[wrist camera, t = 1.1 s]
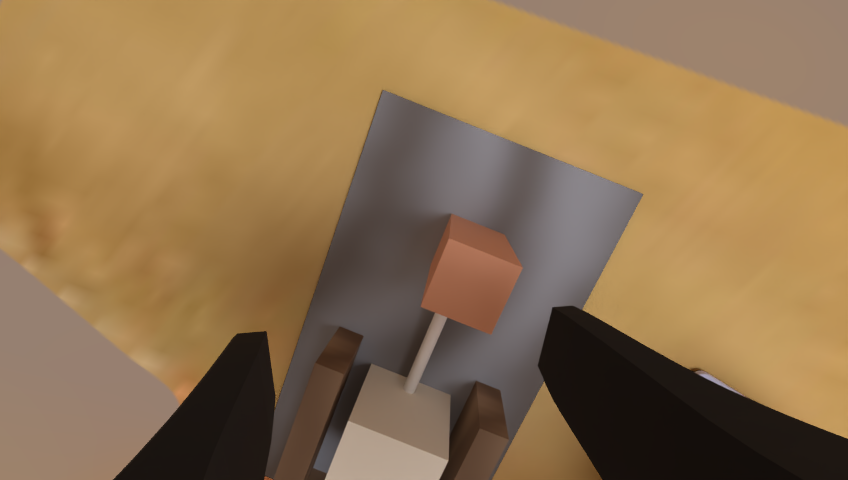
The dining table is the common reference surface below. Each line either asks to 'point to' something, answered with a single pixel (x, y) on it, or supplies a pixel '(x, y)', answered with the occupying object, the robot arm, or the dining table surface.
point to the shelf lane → (407, 275)
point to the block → (404, 396)
